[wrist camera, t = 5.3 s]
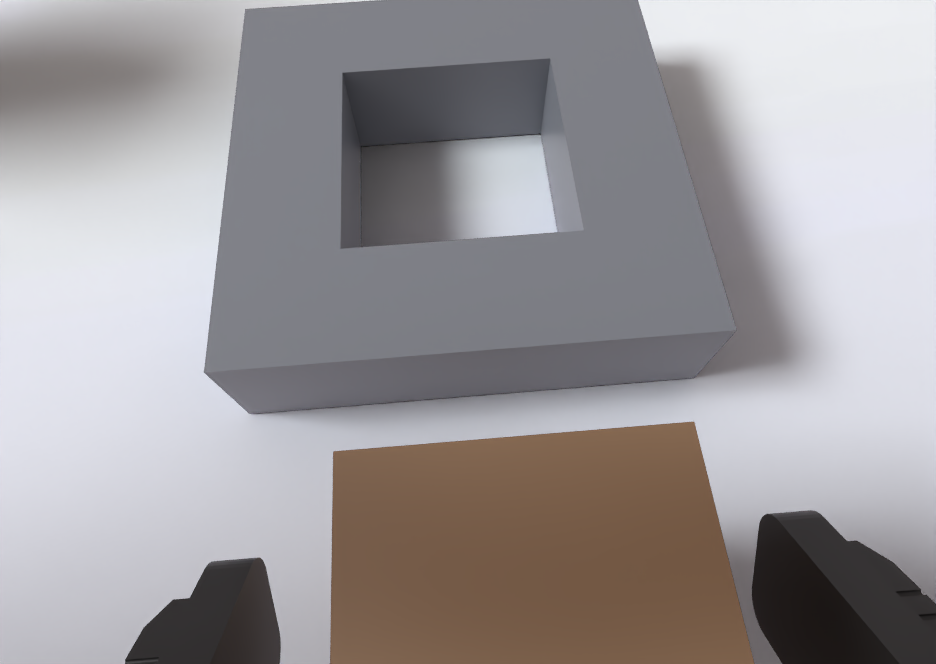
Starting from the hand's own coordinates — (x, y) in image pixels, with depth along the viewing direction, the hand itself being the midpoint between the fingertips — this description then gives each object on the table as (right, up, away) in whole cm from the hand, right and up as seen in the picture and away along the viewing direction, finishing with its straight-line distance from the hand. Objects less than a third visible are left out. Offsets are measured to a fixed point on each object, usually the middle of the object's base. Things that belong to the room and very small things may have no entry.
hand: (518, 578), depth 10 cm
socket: (-1, +8, +9) cm, 12 cm away
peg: (0, -3, +4) cm, 5 cm away
